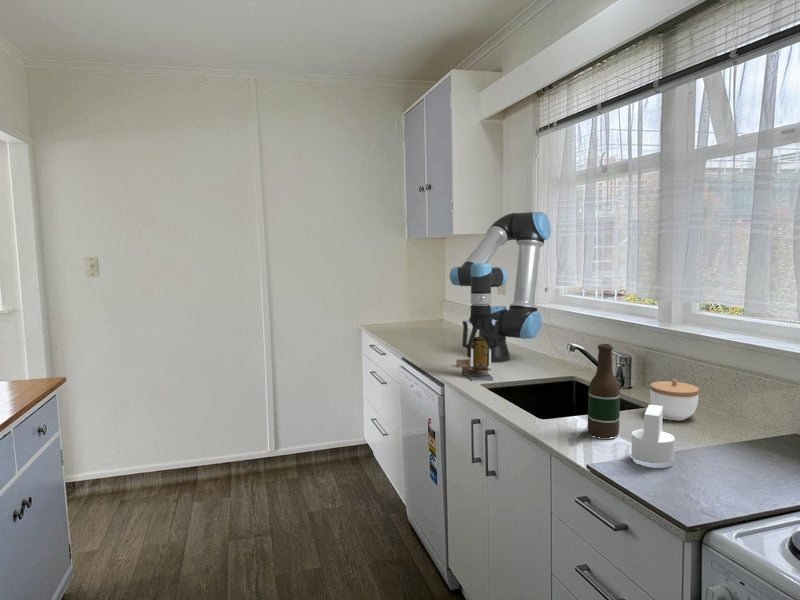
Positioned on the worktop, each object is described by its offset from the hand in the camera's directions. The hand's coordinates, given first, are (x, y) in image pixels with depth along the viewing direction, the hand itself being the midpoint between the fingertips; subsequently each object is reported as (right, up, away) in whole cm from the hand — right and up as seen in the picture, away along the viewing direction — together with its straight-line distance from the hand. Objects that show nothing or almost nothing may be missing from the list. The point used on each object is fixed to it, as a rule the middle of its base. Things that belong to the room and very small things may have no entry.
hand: (480, 365), depth 209 cm
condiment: (0, -2, 0) cm, 2 cm away
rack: (-2, -4, +13) cm, 14 cm away
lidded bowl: (+48, -9, -49) cm, 70 cm away
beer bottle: (+23, -11, -63) cm, 68 cm away
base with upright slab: (+28, -13, -81) cm, 86 cm away
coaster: (0, -5, +1) cm, 5 cm away
